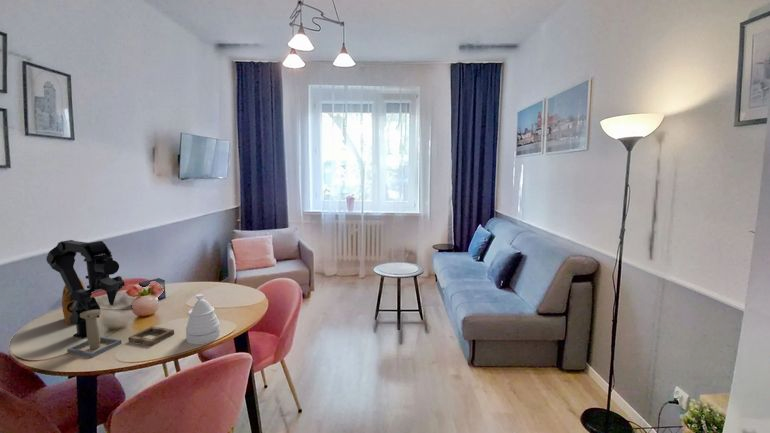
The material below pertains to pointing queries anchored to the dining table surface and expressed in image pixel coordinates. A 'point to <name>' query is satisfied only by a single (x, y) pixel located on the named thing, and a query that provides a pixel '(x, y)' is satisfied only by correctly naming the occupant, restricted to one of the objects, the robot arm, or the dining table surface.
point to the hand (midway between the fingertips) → (101, 309)
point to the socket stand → (145, 341)
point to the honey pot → (202, 323)
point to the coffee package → (68, 303)
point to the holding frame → (91, 354)
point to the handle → (92, 327)
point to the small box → (160, 281)
